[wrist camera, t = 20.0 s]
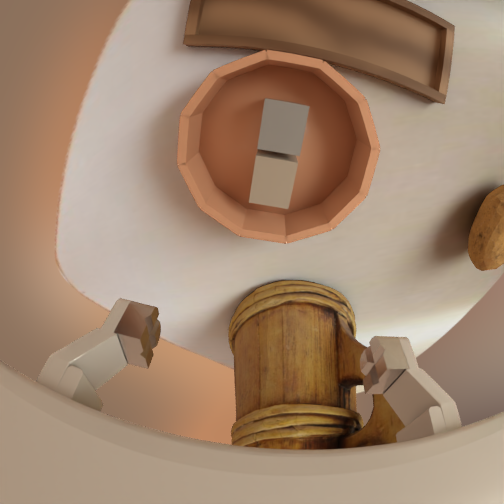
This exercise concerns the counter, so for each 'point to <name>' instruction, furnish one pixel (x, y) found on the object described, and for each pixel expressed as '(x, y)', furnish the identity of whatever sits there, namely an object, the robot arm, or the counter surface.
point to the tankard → (301, 372)
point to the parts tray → (336, 36)
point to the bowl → (246, 142)
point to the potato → (488, 232)
